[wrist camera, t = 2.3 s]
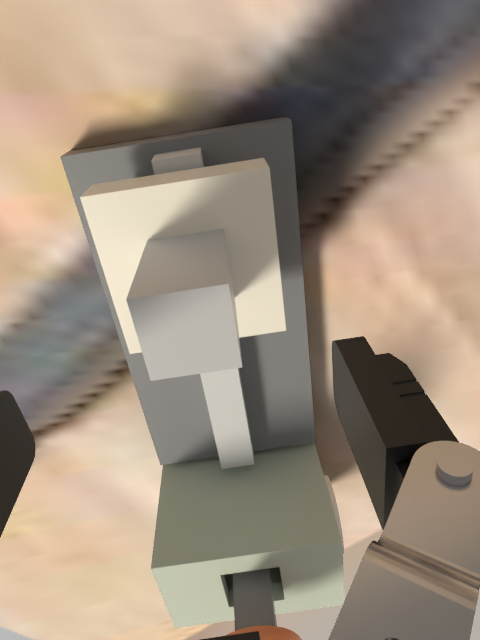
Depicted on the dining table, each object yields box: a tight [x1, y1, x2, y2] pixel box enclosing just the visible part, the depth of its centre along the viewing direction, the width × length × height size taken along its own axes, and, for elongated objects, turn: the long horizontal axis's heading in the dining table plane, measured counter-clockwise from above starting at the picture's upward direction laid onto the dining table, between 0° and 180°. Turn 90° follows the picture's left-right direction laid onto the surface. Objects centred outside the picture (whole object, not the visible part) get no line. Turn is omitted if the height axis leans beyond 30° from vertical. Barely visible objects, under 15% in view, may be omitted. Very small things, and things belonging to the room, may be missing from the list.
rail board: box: [61, 117, 316, 469], centre depth 24 cm, size 10×19×3 cm, turn 8°
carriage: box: [80, 158, 286, 381], centre depth 17 cm, size 7×7×8 cm
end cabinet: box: [151, 443, 345, 628], centre depth 28 cm, size 10×6×8 cm, turn 98°
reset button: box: [226, 568, 301, 640], centre depth 24 cm, size 4×4×7 cm
